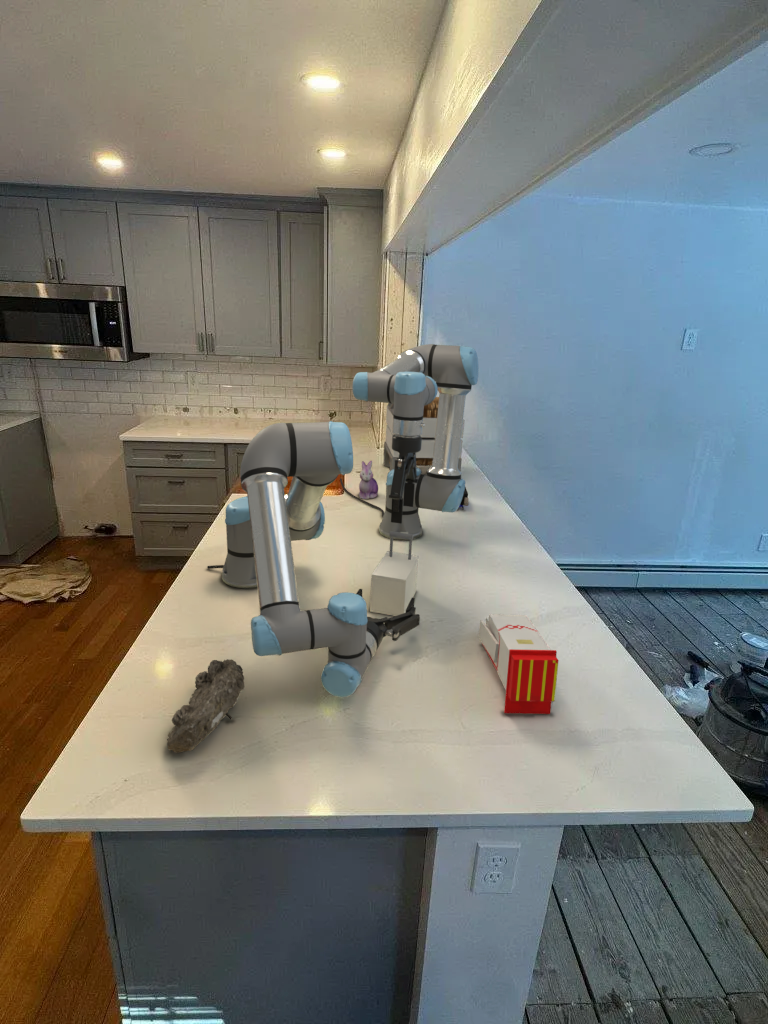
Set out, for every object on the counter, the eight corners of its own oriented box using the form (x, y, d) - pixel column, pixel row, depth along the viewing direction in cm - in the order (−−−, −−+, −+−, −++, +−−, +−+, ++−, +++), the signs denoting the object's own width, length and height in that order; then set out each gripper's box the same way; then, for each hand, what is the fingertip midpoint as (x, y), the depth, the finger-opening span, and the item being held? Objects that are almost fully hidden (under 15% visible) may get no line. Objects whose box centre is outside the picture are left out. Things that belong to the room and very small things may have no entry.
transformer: (382, 463, 289) (386, 382, 275) (445, 464, 293) (451, 384, 279) (390, 482, 257) (394, 392, 243) (460, 483, 261) (468, 394, 247)
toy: (524, 600, 137) (567, 656, 108) (520, 651, 140) (560, 720, 111) (474, 599, 137) (504, 655, 107) (471, 650, 140) (498, 719, 110)
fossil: (192, 660, 117) (244, 628, 112) (224, 691, 120) (276, 661, 115) (142, 746, 98) (202, 712, 93) (182, 779, 101) (242, 748, 96)
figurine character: (468, 514, 225) (463, 498, 239) (470, 497, 222) (465, 482, 235) (451, 514, 225) (447, 498, 238) (453, 497, 222) (449, 481, 235)
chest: (384, 586, 162) (386, 554, 158) (415, 591, 160) (418, 559, 156) (369, 611, 148) (371, 577, 145) (403, 617, 146) (405, 583, 143)
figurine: (363, 500, 232) (364, 465, 227) (352, 493, 240) (353, 459, 235) (383, 498, 236) (385, 463, 231) (372, 491, 244) (373, 457, 239)
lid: (387, 553, 159) (388, 526, 156) (418, 558, 157) (420, 531, 154) (371, 577, 145) (372, 548, 142) (405, 582, 143) (407, 553, 140)
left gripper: (307, 646, 128) (339, 602, 147) (416, 668, 122) (434, 619, 141) (307, 617, 125) (340, 576, 144) (418, 638, 119) (436, 592, 138)
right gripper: (410, 447, 131) (405, 532, 138) (430, 427, 154) (425, 501, 161) (379, 443, 133) (376, 528, 140) (404, 424, 155) (399, 498, 163)
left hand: (386, 597), depth 143 cm, fingers open, 13 cm apart
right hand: (402, 514), depth 150 cm, fingers open, 13 cm apart
